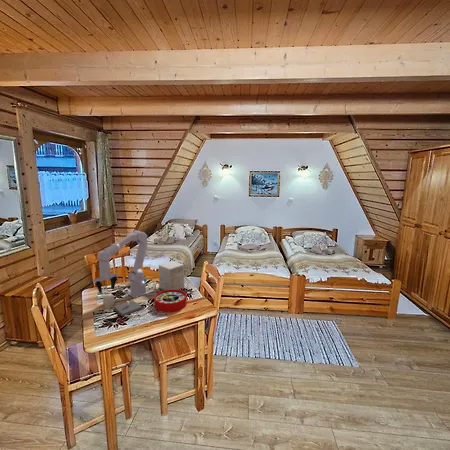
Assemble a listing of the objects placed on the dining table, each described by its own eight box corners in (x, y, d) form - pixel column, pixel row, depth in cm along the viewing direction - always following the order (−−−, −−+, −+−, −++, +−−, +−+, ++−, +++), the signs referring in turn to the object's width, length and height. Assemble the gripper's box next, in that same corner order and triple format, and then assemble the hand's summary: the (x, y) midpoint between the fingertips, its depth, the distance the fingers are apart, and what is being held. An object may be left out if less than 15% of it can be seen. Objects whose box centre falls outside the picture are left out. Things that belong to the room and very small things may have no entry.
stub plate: (132, 302, 166) (132, 295, 165) (141, 309, 158) (141, 301, 157) (114, 308, 157) (113, 301, 157) (122, 316, 149) (122, 308, 148)
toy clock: (150, 293, 166) (180, 287, 176) (150, 301, 167) (180, 295, 178) (159, 306, 150) (191, 298, 160) (160, 316, 151) (191, 307, 161)
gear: (131, 285, 188) (131, 272, 193) (130, 288, 192) (130, 276, 198) (147, 285, 193) (147, 272, 198) (146, 288, 197) (145, 276, 202)
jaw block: (111, 301, 166) (110, 293, 165) (114, 304, 163) (113, 295, 162) (103, 304, 163) (102, 295, 162) (106, 307, 160) (105, 298, 158)
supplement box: (184, 287, 190) (184, 264, 186) (170, 293, 180) (169, 269, 177) (173, 282, 198) (172, 260, 195) (159, 287, 188) (158, 264, 185)
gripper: (113, 265, 166) (115, 285, 169) (89, 271, 156) (92, 292, 158) (118, 268, 162) (120, 288, 164) (94, 274, 151) (96, 296, 154)
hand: (106, 290), depth 161 cm, fingers open, 7 cm apart
